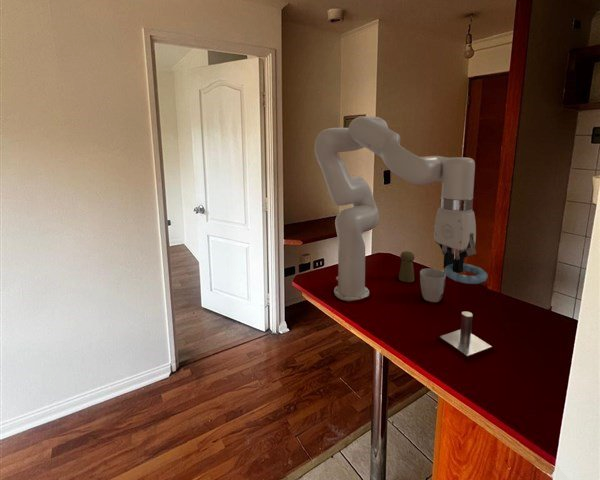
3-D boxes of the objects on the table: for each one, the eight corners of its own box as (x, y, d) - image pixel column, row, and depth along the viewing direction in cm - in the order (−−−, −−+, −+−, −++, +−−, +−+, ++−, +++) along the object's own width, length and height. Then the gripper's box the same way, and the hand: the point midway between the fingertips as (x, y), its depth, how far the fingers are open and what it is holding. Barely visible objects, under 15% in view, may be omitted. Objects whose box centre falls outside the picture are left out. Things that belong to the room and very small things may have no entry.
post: (439, 340, 90) (441, 309, 88) (462, 332, 93) (464, 302, 92) (467, 360, 82) (469, 327, 80) (491, 350, 85) (494, 318, 84)
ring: (435, 273, 88) (436, 266, 87) (462, 266, 92) (463, 259, 91) (467, 288, 79) (468, 280, 78) (496, 280, 82) (496, 273, 82)
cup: (446, 307, 107) (448, 279, 105) (420, 305, 108) (422, 277, 107) (441, 295, 114) (442, 269, 113) (417, 294, 116) (418, 267, 114)
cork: (395, 276, 130) (396, 250, 128) (408, 274, 132) (409, 249, 130) (404, 283, 125) (405, 256, 123) (417, 280, 126) (419, 254, 124)
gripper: (423, 200, 91) (420, 262, 94) (473, 211, 77) (468, 284, 80) (443, 198, 94) (440, 258, 97) (494, 208, 80) (489, 279, 83)
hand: (453, 269), depth 89 cm, fingers closed on ring, 2 cm apart
